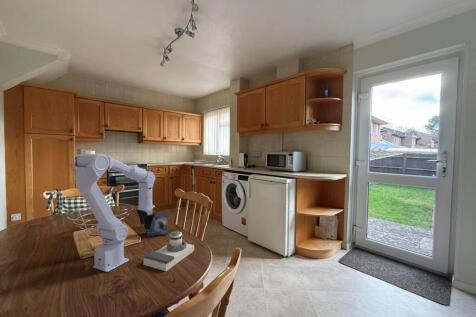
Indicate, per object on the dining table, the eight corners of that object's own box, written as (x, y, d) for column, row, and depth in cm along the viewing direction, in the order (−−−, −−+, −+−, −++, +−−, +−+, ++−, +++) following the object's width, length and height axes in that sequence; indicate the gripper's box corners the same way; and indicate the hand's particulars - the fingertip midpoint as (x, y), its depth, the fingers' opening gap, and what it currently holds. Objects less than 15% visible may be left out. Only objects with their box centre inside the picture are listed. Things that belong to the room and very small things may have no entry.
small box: (145, 237, 109) (145, 217, 109) (147, 232, 116) (147, 213, 115) (167, 235, 112) (167, 215, 112) (168, 230, 119) (168, 212, 118)
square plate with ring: (166, 271, 79) (166, 260, 79) (143, 264, 83) (143, 254, 83) (194, 250, 96) (194, 241, 96) (174, 246, 100) (174, 237, 100)
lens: (184, 248, 92) (183, 234, 92) (172, 251, 89) (171, 237, 89) (179, 243, 97) (179, 230, 96) (168, 246, 93) (167, 233, 93)
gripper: (159, 199, 95) (159, 229, 95) (150, 193, 106) (150, 220, 107) (142, 201, 90) (142, 232, 91) (134, 195, 102) (134, 223, 102)
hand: (145, 226), depth 98 cm, fingers open, 7 cm apart
